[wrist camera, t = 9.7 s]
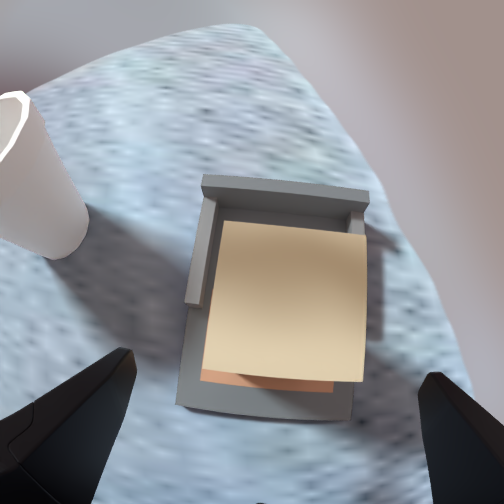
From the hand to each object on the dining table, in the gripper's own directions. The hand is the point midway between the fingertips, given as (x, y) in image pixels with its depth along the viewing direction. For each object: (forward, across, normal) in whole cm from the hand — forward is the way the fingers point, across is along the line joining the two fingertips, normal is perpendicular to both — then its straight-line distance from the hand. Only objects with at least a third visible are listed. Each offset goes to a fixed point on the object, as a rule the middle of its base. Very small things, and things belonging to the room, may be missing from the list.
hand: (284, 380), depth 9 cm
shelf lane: (+13, 0, +6) cm, 15 cm away
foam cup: (+17, +20, +3) cm, 26 cm away
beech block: (+11, 0, +7) cm, 13 cm away
